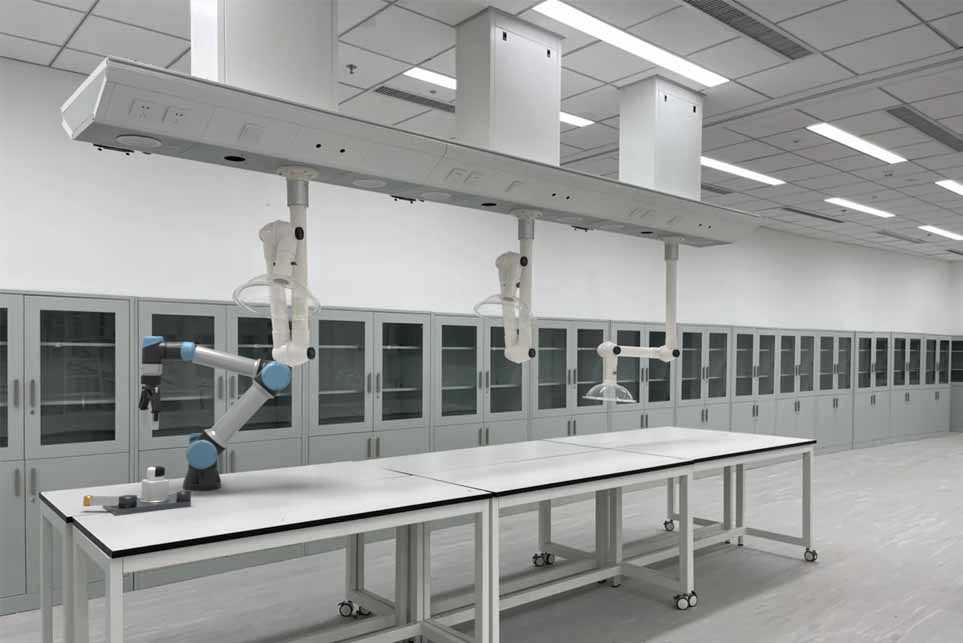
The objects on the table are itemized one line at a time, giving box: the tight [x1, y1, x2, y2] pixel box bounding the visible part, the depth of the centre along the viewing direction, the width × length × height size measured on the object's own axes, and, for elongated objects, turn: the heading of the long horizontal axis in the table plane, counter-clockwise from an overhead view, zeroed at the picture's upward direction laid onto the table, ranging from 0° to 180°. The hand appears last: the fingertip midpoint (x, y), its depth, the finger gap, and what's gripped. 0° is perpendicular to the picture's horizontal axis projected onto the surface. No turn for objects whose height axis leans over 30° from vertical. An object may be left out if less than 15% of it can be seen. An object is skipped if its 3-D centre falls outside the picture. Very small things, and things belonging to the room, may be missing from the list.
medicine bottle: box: [140, 465, 170, 502], centre depth 269 cm, size 7×7×12 cm
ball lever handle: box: [82, 494, 138, 507], centre depth 257 cm, size 18×6×3 cm, turn 96°
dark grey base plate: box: [102, 493, 192, 517], centre depth 266 cm, size 26×16×2 cm, turn 132°
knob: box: [175, 490, 192, 502], centre depth 270 cm, size 8×5×3 cm, turn 42°
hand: (148, 427), depth 286 cm, fingers open, 13 cm apart
